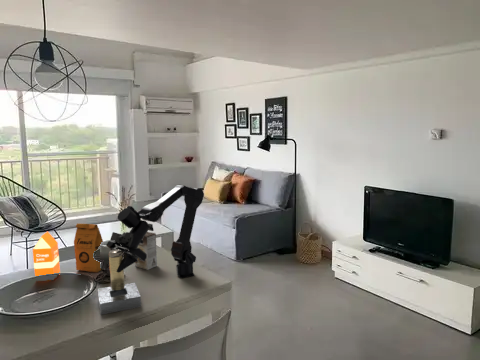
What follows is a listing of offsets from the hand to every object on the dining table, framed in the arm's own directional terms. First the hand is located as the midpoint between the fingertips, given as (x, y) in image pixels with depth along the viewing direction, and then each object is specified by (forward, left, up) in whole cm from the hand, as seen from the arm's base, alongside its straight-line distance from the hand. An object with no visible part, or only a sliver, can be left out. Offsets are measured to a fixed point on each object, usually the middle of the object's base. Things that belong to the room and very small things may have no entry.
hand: (113, 270), depth 140 cm
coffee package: (+7, -42, -13) cm, 45 cm away
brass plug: (-1, -1, -7) cm, 7 cm away
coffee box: (-17, -35, -13) cm, 42 cm away
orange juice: (+25, -40, -13) cm, 49 cm away
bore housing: (-1, 0, -13) cm, 13 cm away
